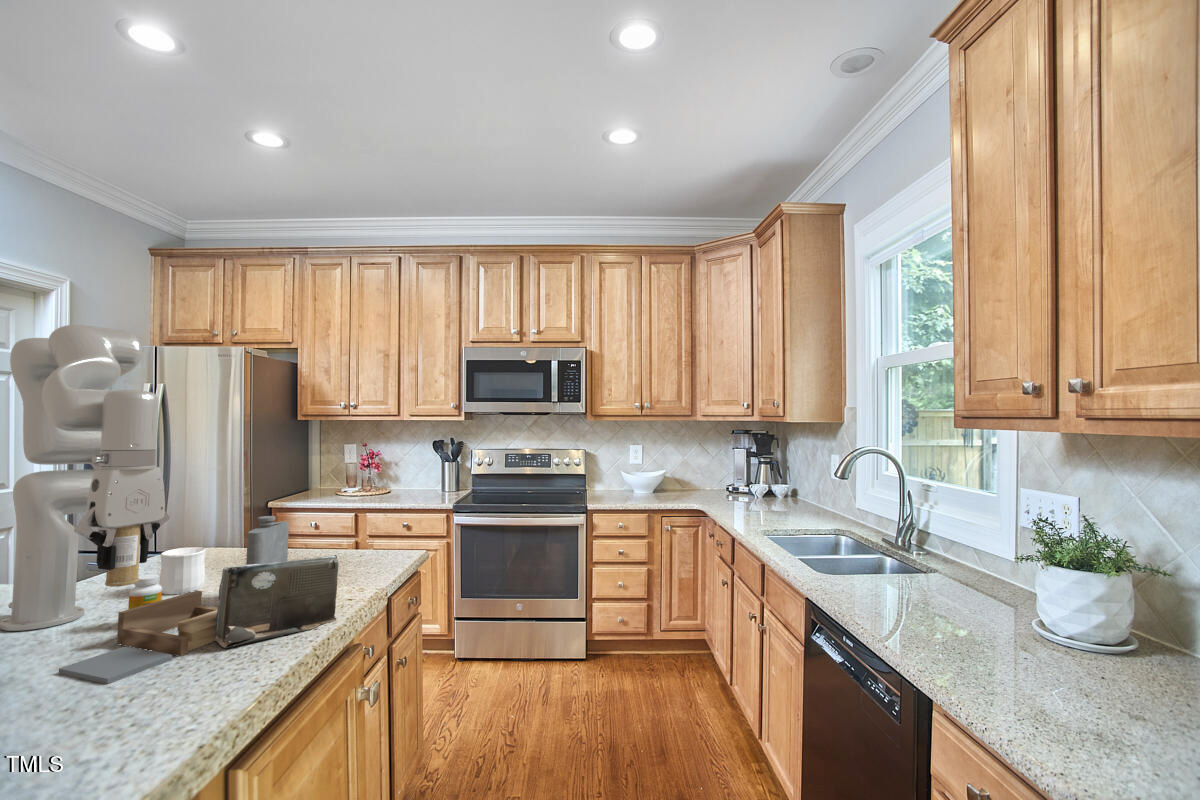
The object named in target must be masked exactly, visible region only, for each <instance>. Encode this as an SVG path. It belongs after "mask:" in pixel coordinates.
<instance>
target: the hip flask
mask: <svg viewBox="0 0 1200 800" xmlns="http://www.w3.org/2000/svg"><path fill="white" fill-rule="evenodd" d="M257 521H258V522H259V523H258V527H256V528H254V529H251V530H249V531H248V532H247V536H246V537H247V541H246V562H245V563H246V564H245V565H250V564H266V563H274V562H283V561H288V558H289V557H288V554H289V552H288V550H289V548H288V547H289V531H290V530H289V529H290V524H289V523H290V522H289V521H276V516H275V515H264V516H258V517H257Z"/></svg>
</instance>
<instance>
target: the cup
mask: <svg viewBox="0 0 1200 800" xmlns="http://www.w3.org/2000/svg"><path fill="white" fill-rule="evenodd" d="M206 551H207V550H206V548H205V547H203V546H201V547H200V546H196V547H195V546H194V547H178V548H174V549H169V550H166V551H163V552H161V553H160V561H161V562H160V563H161V565H160V574H159V582H158V583H159V584H158V585H160V586H161V587H162V593H163V594H162V595H166V594H177V595H179V594H178V593H185V594H186V592H191V591H194V590H197V589H199V590H201V588H203V586H204V584H205V580H206V569H205V568H206V565H205V558H206ZM197 591H198V590H197Z"/></svg>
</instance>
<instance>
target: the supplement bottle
mask: <svg viewBox="0 0 1200 800" xmlns="http://www.w3.org/2000/svg"><path fill="white" fill-rule="evenodd" d="M138 578H139V581H138V582H136V583H134V584H133V586H134V587H133V588H131V589H130V591H129V595H128V609H127V610H129V609H132V608H136V607H139V606H143V605H147V604H150V603H154V602H158V601H161V600H163V598H162V597H163V594H162V587H161V586H160V585H159V584H158V583H159V581H160V575H159V574H155V573H154V574H153V573H152V574H143V575H138Z"/></svg>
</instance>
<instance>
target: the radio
mask: <svg viewBox="0 0 1200 800" xmlns="http://www.w3.org/2000/svg"><path fill="white" fill-rule="evenodd" d="M339 563H340V562H339V559H338V556H337V555H336V554H334V555H333V554H332V555H325V556H320V557H313V558H311V557H310V558H304V559H303V558H300V559H293V560H287V561H283V562H274V563H266V564H250V565H246V564H244V565H243V564H242V565H237V566H225V567H223V568H222V573H221V574H222V575H221V580H220V583H219V589H218V607H217V608H218V610H217V615H216V625H217V626H216V627H217V629H216V633H217V635H216V636H215V638H214V640H216V641H215V642H216V643H218V644H219V645H220V646H221V647H223V648H225V649H227V648H233V647H236V646H241V645H245V644H249V643H254V642H259V641H263V640H267V639H272V638H276V637H282V636H285V635H290V634H295V633H299V632H303V631H308V630H312V629H315V628H318V627H319V626H321V625H324V624H328V623H332V622H336V621H337V617H335V614H336V605H337V603H336V602H337V594H338V574H339V573H338V572H339V566H340V565H339Z"/></svg>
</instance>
